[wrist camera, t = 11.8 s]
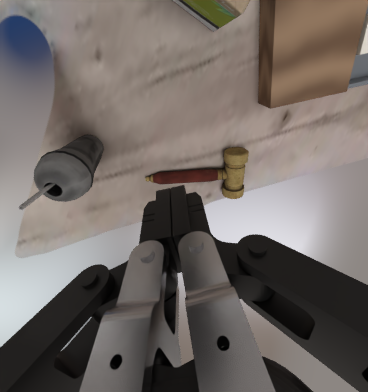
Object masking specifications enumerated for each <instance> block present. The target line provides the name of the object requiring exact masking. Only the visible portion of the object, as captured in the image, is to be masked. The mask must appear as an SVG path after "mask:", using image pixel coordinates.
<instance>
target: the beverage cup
mask: <svg viewBox="0 0 368 392" xmlns="http://www.w3.org/2000/svg"><path fill="white" fill-rule="evenodd" d="M102 153H103V145H102V142H101V141H100V140H99V139H98V138H97V137H95V136H92V135H84V136H82V137H80V138H78V139H76V140H74V141H73V142H71V143H69V144H68V145H66V146H64V147H62V148H61V149H58V150H55V151H52V152H48V153H46V154H45V155H43V156H42V157H41V159H40V161H39V162H38V164H37V166H36V168H35V170H34V181H35V184H36V186H37V188H38V189H39V192H38V193H36V194H35V195H34V196H32V197H31V198H30V199H28V200H27V201H26V202H24V203H23V204H22V205H20V206H19V209H21V210H23V209H24V208H26V207H27V206H28V205H29V204H31V203H32V202H33V201H35V200H36V199H37V198H38V197H40V196H41V195H42V194H43V195H45V196H46V197H48V198H50V199H52V200H55V201H64V202H67V201H71V200H75V199H77V198H79V197H81V196H83V195H84V194H85V193H86V192H87V191H89V189H90V188H91V187H92V183H93V177H94V173H95V170H96V168H97V166H98V163H99V161H100V159H101V156H102Z"/></svg>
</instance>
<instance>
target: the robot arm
mask: <svg viewBox="0 0 368 392" xmlns="http://www.w3.org/2000/svg"><path fill="white" fill-rule="evenodd" d="M180 272H182V273H183V280H184V286H185V292H186V298H185V304H186V311H187V317H188V324H189V330H190V336H191V342H192V348H193V355H194V359H193V360H191V361H189V362H187V363H186V364H184V365H182V366H181V352H180V346H179V338H178V324H179V318H178V317H179V287H178V277H177V273H180ZM239 299H242V300H243V301H244V302H245V303H246V304H247V305H248V306H250V307H251V308H252V309H253V310H255V311H256V312H257V313H259V314H260V315H261V316H262V317H264V318H265V319H267V320H268V321H269V322H270V323H271V324H273V325H274V326H276V327H277V328H278V329H279V330H281V331H282V332H283V333H284V334H286V335H287V336H288V337H290V338H291V339H292V340H293V341H295V342H296V343H297V344H299V345H300V346H301V347H302V348H304V349H305V350H306V351H308V352H309V353H310V354H311V355H313V356H314V357H315V358H317V359H318V360H319V361H321V362H322V363H323V364H324V365H326V366H327V367H328V368H330V369H331V370H332V371H333V372H335V373H336V374H337V375H338V376H340V377H341V378H342V379H344V380H345V381H346V382H347V383H349V384H350V385H351V386H353V387H354V388H355V389H356V390H358V391H359V392H368V285H366V284H364V283H362V282H360V281H358V280H356V279H354V278H352V277H349V276H347V275H345V274H343V273H341V272H339V271H337V270H335V269H333V268H331V267H329V266H326V265H324V264H322V263H320V262H318V261H316V260H314V259H312V258H310V257H308V256H306V255H304V254H302V253H299V252H297V251H295V250H293V249H291V248H289V247H287V246H285V245H282V244H281V243H279V242H276V241H274V240H272V239H270V238H268V237H266V236H262V235H249V236H246V237H244V238H242V239H241V240H240V241H239V242H238V243H226V242H222V241H219V240H217V239H216V238H215V237H213V235H212V234H211V232H210V229H209V225H208V222H207V218H206V214H205V210H204V206H203V203H202V199H201V196H199V195H198V194H197V193H196V192H194V193H189V194H186V191H185V186H184V185H182V186H177V187H172V188H171V189H170V188H168V189H163V190H158V191H156V201H151V202H148V204H147V205H146V207H145V208H144V213H143V220H142V227H141V234H140V241H139V245H138V246H136V247H135V248H134V249H133V251H132V252H131V254H130V257H129V260H128V261H127V262H125V263H123V264H121V265H119V266H117V267H115V268H113V269H111V270H108V268H107V267H106V266H104V265H93V266H91V267H88V268H87V269H85V270H84V271H82V272H81V273H80V274H79V275H78V276H77V277H76V278H75V279H73V280H72V281H71V282H70V283H69V284H68V285H67V286H66V287H65V288H64V289H63V290H62V291H61V292H59V293H58V294H57V295H56V296H55V297H54V298H53V299H52V300H51V301H50V302H49V303H48V304H47V305H46V306H44V307H43V308H42V309H41V310H40V311H39V312H38V313H37V314H36V315H35V316H34V317H33V318H32V319H31V320H29V321H28V322H27V323H26V324H25V325H24V326H23V327H22V328H21V329H20V330H19V331H18V332H17V333H16V334H14V335H13V336H12V337H11V338H10V339H9V340H8V341H7V342H6V343H5V344H4V345H3V346H2V347H0V392H313V391H312V390H311V389H310V388H309V387H307V386H306V385H305V384H304V383H303V382H302V381H301V380H300V379H299V378H298V377H296V376H295V375H294V374H293V373H291V372H290V371H289V370H287V369H286V368H285V367H283V366H281V365H280V364H278V363H276V362H275V361H272V360H270V359H268V358H266V357H263V356H261V353H260V351H259V348H258V346H257V343H256V341H255V338H254V336H253V333H252V331H251V328H250V325H249V323H248V320H247V318H246V315H245V313H244V310H243V308H242V305H241V303H240V300H239ZM90 317H92V318H91V319H90V321H89V322H88V323H87V324H86V325H85V326H84V328H83V329H82V330H81V331H80V332H79V333H78V334H77V335H76V337H75V338H74V339H73V340H72V341H71V342H70V344H69V345H68V346H67V347H66V348H65V349H63V347H64V346H65V345H66V344H67V343H68V342H69V341H70V340H71V338H72V337H73V336H74V335H75V334H76V333H77V332H78V330H79V329H80V328H81V327H82V326H83V325H84V324H85V322H86V321H87V320H88V319H89V318H90ZM62 349H63V350H62ZM61 350H62V351H61Z"/></svg>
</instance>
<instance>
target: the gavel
mask: <svg viewBox="0 0 368 392" xmlns="http://www.w3.org/2000/svg"><path fill="white" fill-rule="evenodd" d="M248 153H249V152H248V150H246V149H244V148H241V147H232V148H228V149H226V150H225V151H224V161H225V162H226V164H225V169H222V170H221V169H220V170H216V169H204V170H188V171H172V172H159V173H157V174H154V175H151V177H146V181H151V182H154V183H158V184H173V183H190V182H206V181H215V180H221V179H222V180H224V184H223V186H222V194H223V195H224V196H225V197H227V198H230V199H237V198H240V197H242V196H243V192H244V185H243V180H244V172H245V163H247V161H248Z"/></svg>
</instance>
